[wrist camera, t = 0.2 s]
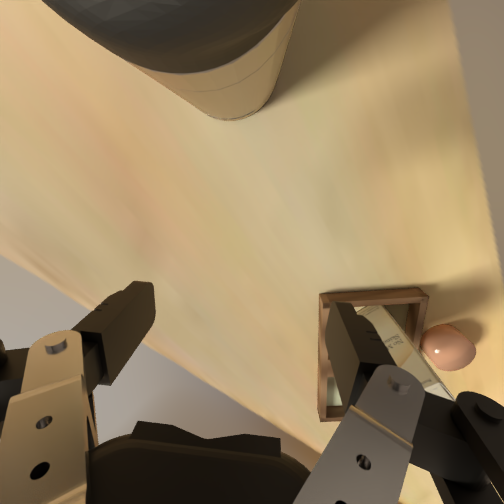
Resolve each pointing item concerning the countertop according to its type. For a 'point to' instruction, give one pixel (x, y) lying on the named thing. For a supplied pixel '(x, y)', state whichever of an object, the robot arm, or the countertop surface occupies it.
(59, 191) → the countertop surface
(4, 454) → the robot arm
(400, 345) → the skincare box
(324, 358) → the walnut organizer
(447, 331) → the pinkish brown rounded piece
